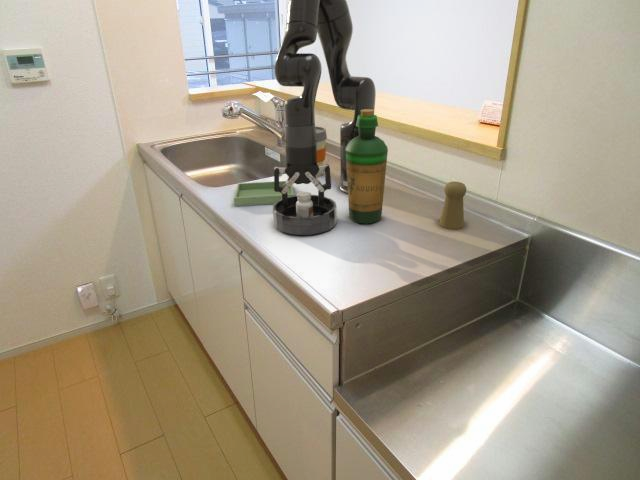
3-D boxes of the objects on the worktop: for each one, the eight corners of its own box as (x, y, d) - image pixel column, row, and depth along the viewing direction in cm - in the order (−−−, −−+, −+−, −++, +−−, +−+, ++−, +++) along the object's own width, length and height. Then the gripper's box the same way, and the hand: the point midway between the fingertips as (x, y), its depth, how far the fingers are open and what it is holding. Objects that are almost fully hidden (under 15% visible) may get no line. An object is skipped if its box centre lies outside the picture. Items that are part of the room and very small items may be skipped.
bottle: (339, 223, 117) (339, 113, 105) (351, 209, 126) (352, 105, 114) (380, 228, 113) (384, 115, 101) (389, 213, 122) (394, 107, 110)
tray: (292, 188, 143) (292, 180, 142) (294, 202, 131) (293, 194, 130) (238, 190, 142) (237, 183, 141) (234, 206, 130) (233, 198, 129)
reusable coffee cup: (318, 166, 164) (317, 124, 157) (333, 175, 153) (332, 131, 147) (286, 171, 159) (283, 128, 153) (299, 181, 149) (297, 136, 142)
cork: (464, 220, 116) (469, 180, 111) (463, 230, 111) (468, 188, 106) (440, 218, 118) (444, 178, 113) (438, 227, 113) (442, 186, 108)
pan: (332, 210, 125) (332, 193, 123) (339, 234, 111) (339, 215, 109) (274, 213, 124) (273, 196, 122) (274, 238, 110) (272, 219, 108)
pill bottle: (314, 224, 116) (313, 196, 112) (297, 225, 115) (295, 197, 112) (313, 217, 120) (311, 190, 116) (296, 218, 119) (295, 191, 116)
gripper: (328, 138, 112) (329, 199, 119) (271, 140, 111) (275, 201, 118) (331, 145, 105) (332, 209, 112) (270, 147, 105) (275, 212, 112)
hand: (303, 205), depth 115 cm, fingers open, 8 cm apart
